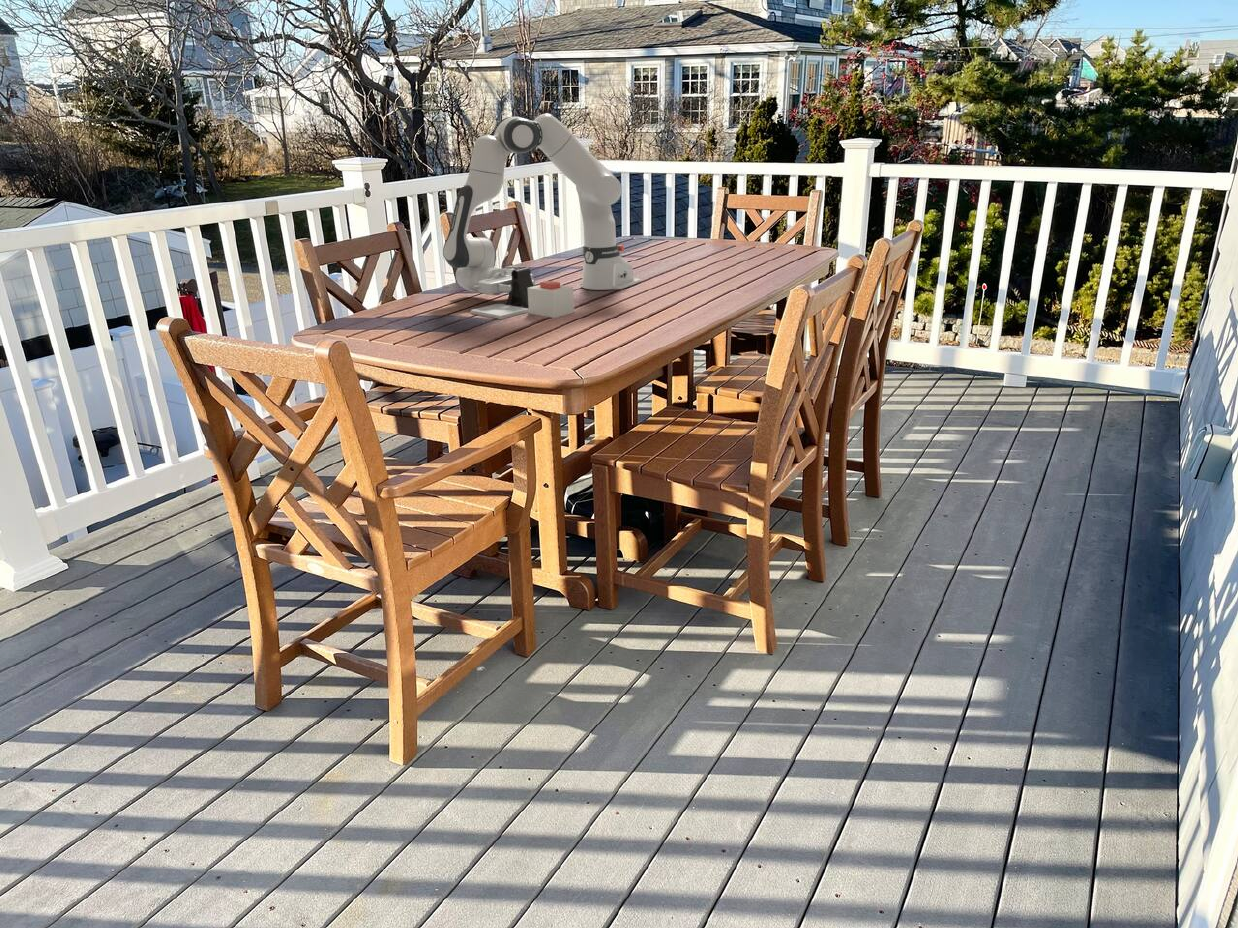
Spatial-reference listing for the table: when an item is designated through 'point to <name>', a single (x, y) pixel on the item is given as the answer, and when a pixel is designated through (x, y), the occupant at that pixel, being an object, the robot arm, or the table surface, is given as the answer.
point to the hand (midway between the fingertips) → (522, 286)
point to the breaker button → (550, 285)
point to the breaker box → (551, 301)
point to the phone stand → (520, 288)
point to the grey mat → (499, 311)
